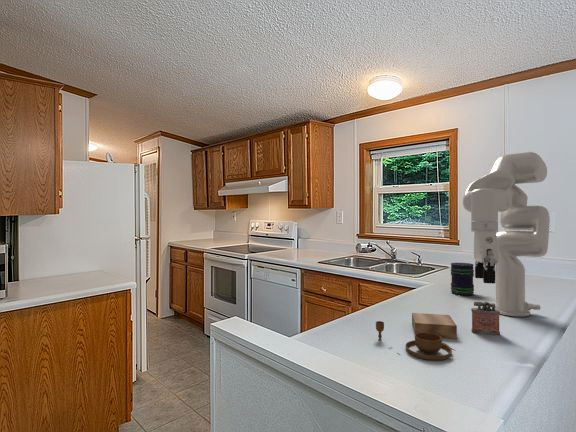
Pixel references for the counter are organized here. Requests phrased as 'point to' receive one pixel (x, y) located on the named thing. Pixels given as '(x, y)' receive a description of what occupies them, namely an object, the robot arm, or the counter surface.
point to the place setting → (423, 344)
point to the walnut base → (434, 324)
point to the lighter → (485, 319)
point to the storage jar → (462, 279)
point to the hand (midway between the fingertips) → (484, 280)
